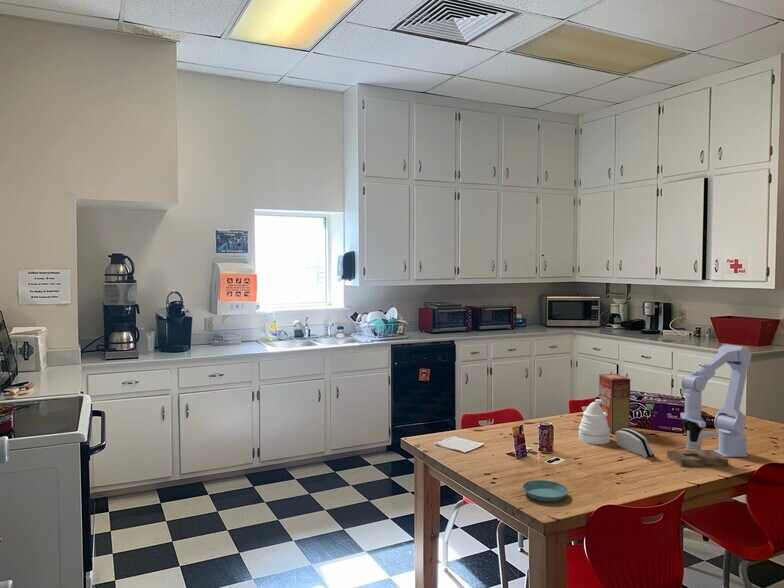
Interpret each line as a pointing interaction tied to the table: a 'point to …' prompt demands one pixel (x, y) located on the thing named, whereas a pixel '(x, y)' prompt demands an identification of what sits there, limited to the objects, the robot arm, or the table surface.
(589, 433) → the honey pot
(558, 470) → the table surface
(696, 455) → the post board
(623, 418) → the food packaging
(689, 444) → the bracket
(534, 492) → the saucer
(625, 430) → the napkin holder
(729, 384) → the robot arm
